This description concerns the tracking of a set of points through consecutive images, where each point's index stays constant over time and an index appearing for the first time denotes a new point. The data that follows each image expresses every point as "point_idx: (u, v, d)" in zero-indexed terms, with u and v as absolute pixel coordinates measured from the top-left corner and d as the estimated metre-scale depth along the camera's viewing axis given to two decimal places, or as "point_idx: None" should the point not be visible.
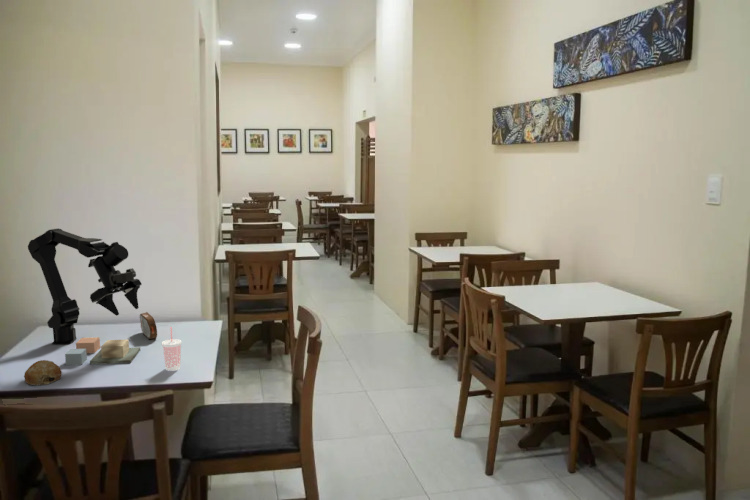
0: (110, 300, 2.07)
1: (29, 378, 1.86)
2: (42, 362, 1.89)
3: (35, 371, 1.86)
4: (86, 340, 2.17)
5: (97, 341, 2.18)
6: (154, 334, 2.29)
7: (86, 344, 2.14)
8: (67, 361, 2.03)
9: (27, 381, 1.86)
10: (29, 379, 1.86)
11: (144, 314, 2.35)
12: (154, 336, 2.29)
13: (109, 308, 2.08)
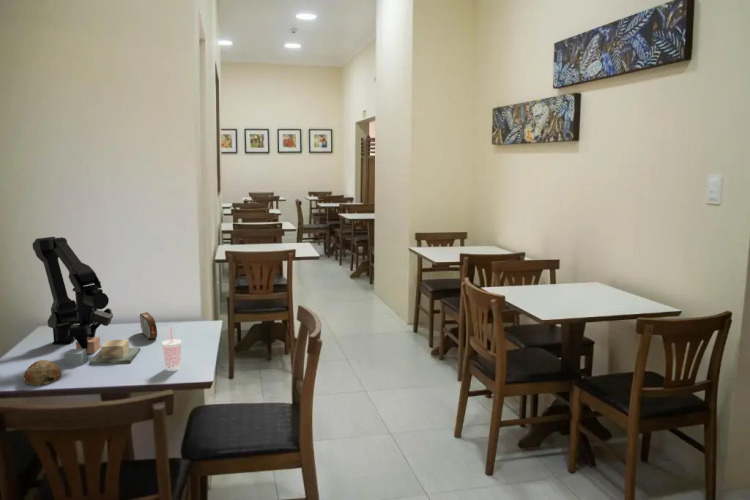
0: (87, 337, 2.12)
1: (28, 378, 1.86)
2: (41, 362, 1.89)
3: (35, 371, 1.86)
4: None
5: (97, 341, 2.18)
6: (154, 334, 2.29)
7: None
8: (67, 361, 2.03)
9: (26, 381, 1.86)
10: (29, 379, 1.86)
11: (144, 314, 2.35)
12: (154, 336, 2.29)
13: (81, 342, 2.13)
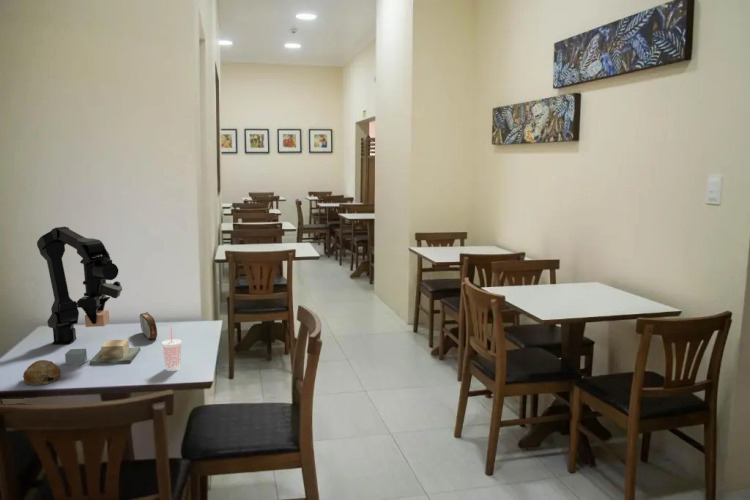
0: (96, 309, 2.08)
1: (28, 378, 1.86)
2: (41, 362, 1.89)
3: (34, 371, 1.86)
4: None
5: (106, 314, 2.14)
6: (154, 334, 2.29)
7: None
8: (67, 361, 2.03)
9: (26, 381, 1.86)
10: (28, 379, 1.86)
11: (144, 314, 2.35)
12: (154, 336, 2.29)
13: (90, 315, 2.08)
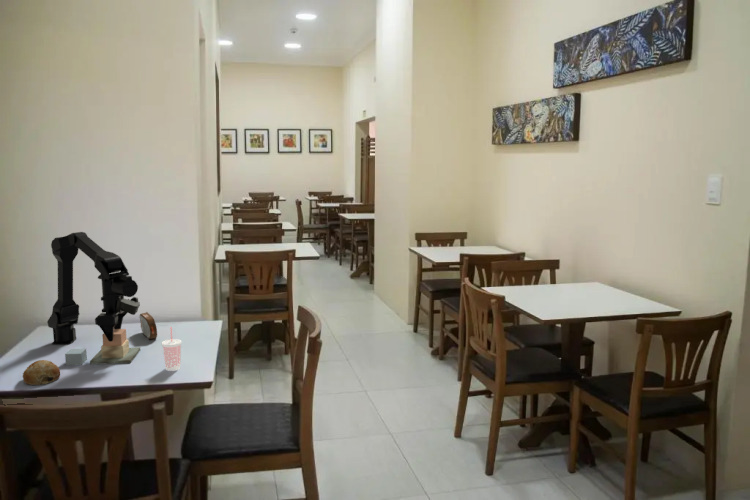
0: (113, 327, 2.04)
1: (27, 378, 1.86)
2: (41, 362, 1.89)
3: (34, 371, 1.86)
4: None
5: (124, 333, 2.11)
6: (154, 334, 2.29)
7: (113, 335, 2.07)
8: (67, 361, 2.03)
9: (26, 381, 1.86)
10: (28, 379, 1.86)
11: (144, 314, 2.35)
12: (154, 336, 2.29)
13: (106, 333, 2.04)
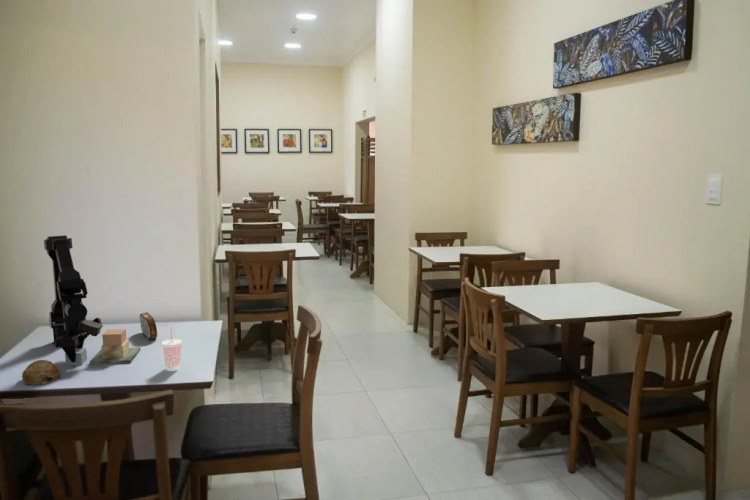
0: (75, 348, 2.01)
1: (27, 377, 1.86)
2: (40, 362, 1.89)
3: (33, 371, 1.86)
4: (112, 331, 2.10)
5: (124, 333, 2.11)
6: (154, 334, 2.29)
7: (113, 335, 2.07)
8: (67, 360, 2.03)
9: (25, 381, 1.86)
10: (27, 379, 1.86)
11: (144, 314, 2.35)
12: (154, 336, 2.29)
13: (69, 353, 2.02)
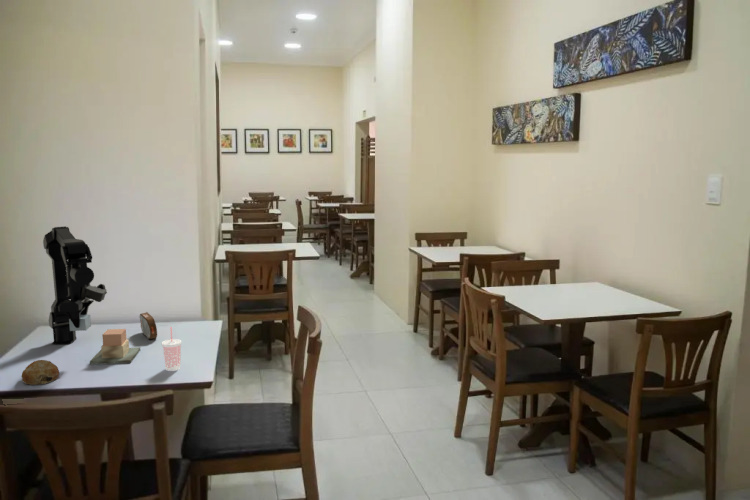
0: (79, 313, 2.00)
1: (26, 377, 1.86)
2: (39, 362, 1.89)
3: (33, 371, 1.86)
4: (112, 331, 2.10)
5: (124, 333, 2.11)
6: (154, 334, 2.29)
7: (113, 335, 2.07)
8: (71, 326, 2.02)
9: (25, 381, 1.87)
10: (27, 379, 1.86)
11: (144, 314, 2.35)
12: (154, 336, 2.29)
13: (73, 319, 2.00)
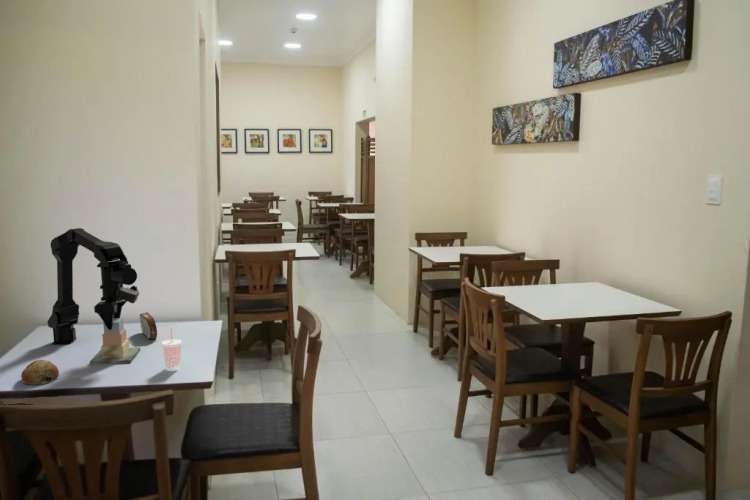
0: (112, 315, 2.03)
1: (26, 377, 1.86)
2: (39, 362, 1.89)
3: (32, 371, 1.86)
4: None
5: (124, 333, 2.11)
6: (154, 334, 2.29)
7: (113, 335, 2.07)
8: (105, 330, 2.07)
9: (24, 381, 1.87)
10: (26, 379, 1.86)
11: (144, 314, 2.35)
12: (154, 336, 2.29)
13: (106, 321, 2.04)
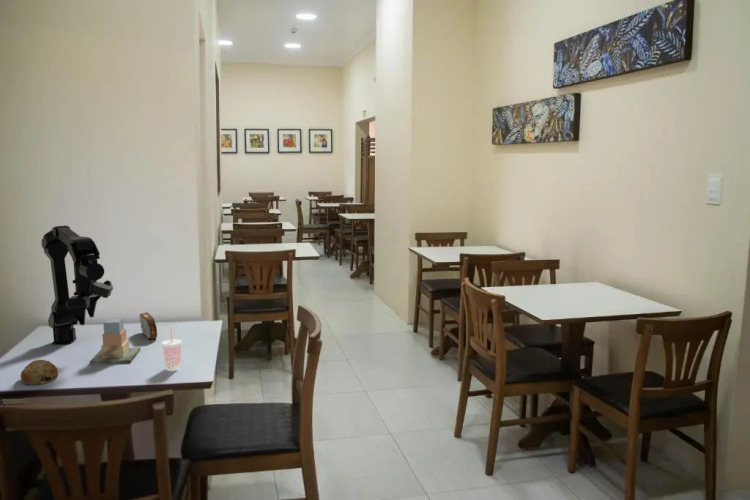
0: (85, 310, 2.02)
1: (25, 377, 1.86)
2: (38, 362, 1.89)
3: (31, 371, 1.86)
4: None
5: (124, 333, 2.11)
6: (154, 334, 2.29)
7: (113, 335, 2.07)
8: (105, 330, 2.07)
9: (23, 381, 1.87)
10: (26, 379, 1.86)
11: (144, 314, 2.35)
12: (154, 336, 2.29)
13: (78, 316, 2.02)
